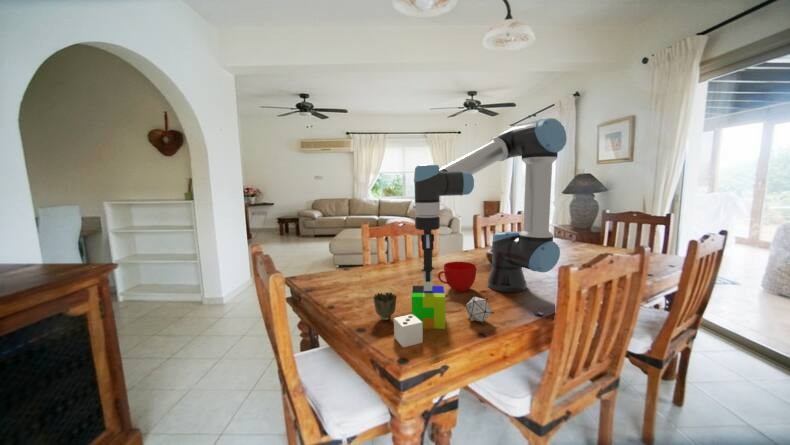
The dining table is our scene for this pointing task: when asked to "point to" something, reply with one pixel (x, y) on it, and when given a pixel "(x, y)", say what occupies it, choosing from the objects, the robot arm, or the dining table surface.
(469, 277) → the ceramic cup
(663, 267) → the dining table surface
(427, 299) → the puzzle toy
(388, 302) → the cup
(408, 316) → the pip block
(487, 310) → the game die
